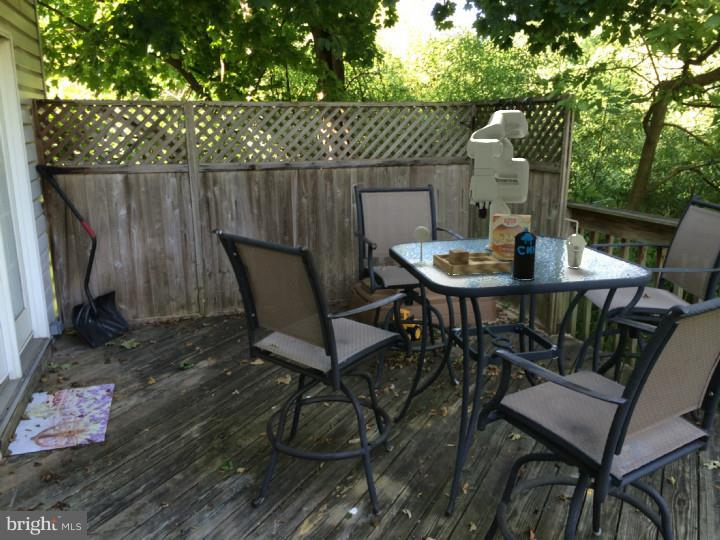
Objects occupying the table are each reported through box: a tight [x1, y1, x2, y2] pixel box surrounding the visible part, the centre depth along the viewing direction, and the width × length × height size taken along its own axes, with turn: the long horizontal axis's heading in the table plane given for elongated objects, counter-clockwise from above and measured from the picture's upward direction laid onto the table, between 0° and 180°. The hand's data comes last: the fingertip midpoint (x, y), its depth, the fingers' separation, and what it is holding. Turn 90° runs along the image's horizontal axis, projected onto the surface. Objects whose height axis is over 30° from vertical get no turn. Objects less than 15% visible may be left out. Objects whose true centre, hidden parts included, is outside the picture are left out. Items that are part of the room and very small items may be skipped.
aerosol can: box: [512, 226, 538, 279], centre depth 219 cm, size 8×8×20 cm
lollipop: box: [413, 225, 431, 261], centre depth 253 cm, size 7×7×15 cm
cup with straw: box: [564, 217, 588, 267], centre depth 235 cm, size 8×9×20 cm
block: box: [448, 248, 470, 265], centre depth 232 cm, size 6×6×6 cm
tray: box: [432, 251, 512, 276], centre depth 238 cm, size 25×22×4 cm
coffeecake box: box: [491, 213, 532, 261], centre depth 252 cm, size 15×7×20 cm, turn 65°
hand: (482, 218), depth 235 cm, fingers closed
